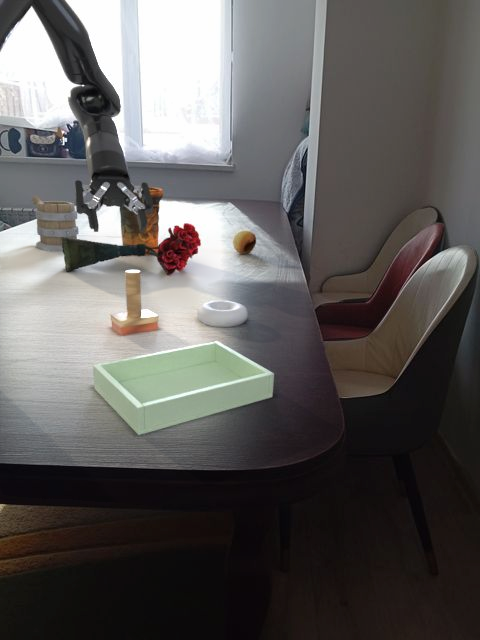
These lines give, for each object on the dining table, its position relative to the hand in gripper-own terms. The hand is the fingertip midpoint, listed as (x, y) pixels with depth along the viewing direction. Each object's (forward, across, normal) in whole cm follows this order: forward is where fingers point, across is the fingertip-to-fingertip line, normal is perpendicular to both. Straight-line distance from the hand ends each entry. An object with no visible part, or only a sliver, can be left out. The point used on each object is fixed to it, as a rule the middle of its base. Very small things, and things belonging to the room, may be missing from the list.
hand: (120, 229), depth 97 cm
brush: (+19, 0, +4) cm, 20 cm away
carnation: (-14, +9, +38) cm, 42 cm away
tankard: (-44, -8, +68) cm, 82 cm away
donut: (+19, +17, +5) cm, 26 cm away
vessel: (-33, +17, +57) cm, 68 cm away
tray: (+39, +1, -16) cm, 42 cm away
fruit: (-28, +49, +52) cm, 77 cm away
